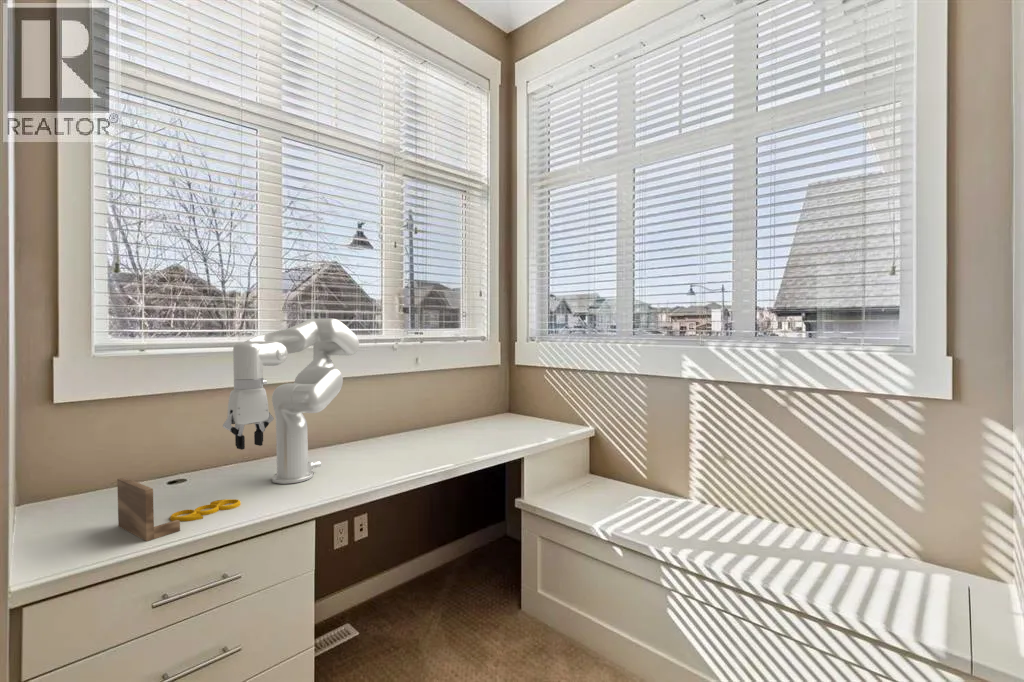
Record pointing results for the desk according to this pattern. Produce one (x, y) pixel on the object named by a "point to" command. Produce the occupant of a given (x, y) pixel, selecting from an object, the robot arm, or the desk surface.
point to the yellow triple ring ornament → (198, 513)
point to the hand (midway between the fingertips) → (249, 446)
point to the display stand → (140, 511)
